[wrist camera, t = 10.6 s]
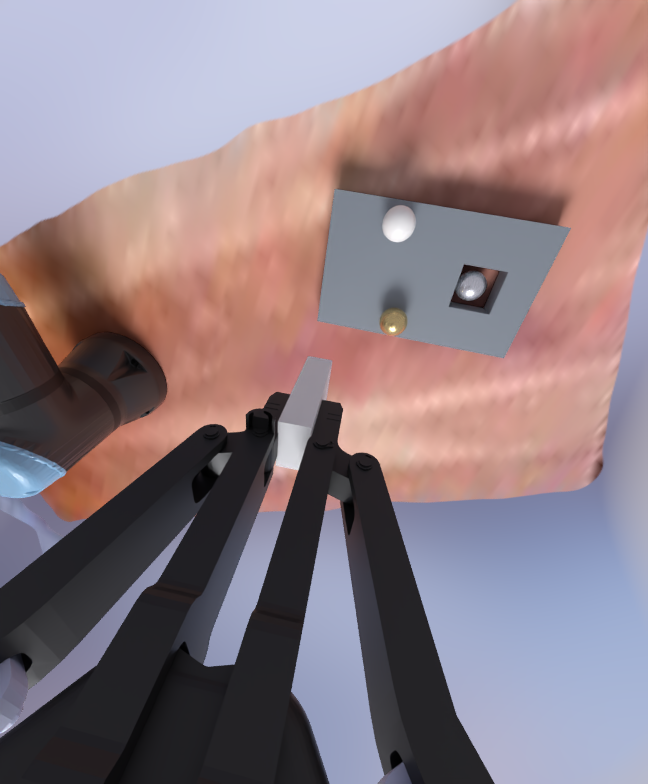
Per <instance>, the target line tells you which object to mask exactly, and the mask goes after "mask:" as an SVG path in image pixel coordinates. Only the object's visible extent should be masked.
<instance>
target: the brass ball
mask: <svg viewBox="0 0 648 784" xmlns="http://www.w3.org/2000/svg"><path fill="white" fill-rule="evenodd" d="M407 324H408V318H407V315H406V313H405V312H404V311H403V310H401V309H399V308H395V307H393V308H389V309H387V310H385V311H384V312H383V313H382V315H381V316H380V320H379V325H380V328H381V330H382V331H383V332H384V333H385V334H387V335H389V336H396V335H399V334H401V333H402V332H403V331H404V330H405V329H406V327H407Z"/></svg>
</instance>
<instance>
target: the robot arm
mask: <svg viewBox="0 0 648 784" xmlns="http://www.w3.org/2000/svg"><path fill="white" fill-rule="evenodd" d="M24 307H26V306H25V304H24V303H23V302H20V300H19V299H18V297H17V296H16V294H15V293H14V291H13V290H12V288H11V287H10V285H9V283H8V282H7V280H6V279H5V277H4V276H3V275H2V274H1V273H0V496H4V497H10V498H24V497H30V496H33V495H35V494H38V493H39V492H41V491H42V490H44V489H45V488H46V487H48V486H49V485H51V484H52V483H53V482H55V481H56V480H57V479H59V478H60V477H63V476H64V475H65V474H66V472H67V471H68V470H69V469H70V468H71V467H73V466H74V465H75V464H76V463H77V462H78V461H80V460H81V459H82V458H83V457H84V456H85V455H87V454H88V453H89V452H90V451H91V450H92V449H94V448H95V447H96V446H97V445H98V444H99V443H101V442H102V441H103V440H104V439H105V438H106V437H108V436H109V435H110V434H111V433H112V432H113V431H114V430H116V429H117V428H118V427H119V426H122V425H124V424H127V423H129V422H132V421H134V420H137V419H139V418H141V417H144V416H147V415H149V414H151V413H152V412H153V411H155V410H156V409H157V408H158V407H159V406H160V405H161V404H162V403H163V401H164V400H165V397H166V393H167V385H166V380H165V377H164V374H163V372H162V370H161V368H160V367H159V365H158V364H157V362H156V361H155V359H154V358H153V357H152V356H151V355H150V354H149V353H148V352H147V351H146V350H145V349H144V348H143V347H141V346H140V345H139V344H137V343H136V342H134V341H132V340H131V339H129V338H126V337H124V336H122V335H119V334H115V333H108V332H103V333H97V334H94V335H92V336H90V337H88V338H86V339H84V340H82V341H80V342H79V343H78V344H77V345H76V346H75V347H74V349H73V350H72V352H71V353H70V354H69V355H68V356H67V357H66V358H65V359H64V360H63V361H62V362H61V363H60V364H59V365H58V366H57V364H56V362H55V361H54V359H53V357H52V355H51V354H50V352H49V350H48V349H47V347H46V345H45V343H44V342H43V340H42V338H41V336H40V334H39V333H38V331H37V329H36V327H35V326H34V324H33V322H32V320H31V318H30V317H29V315H28V313H27V311H26V309H25V308H24ZM331 366H332V360H327V359H321V358H316V357H310V356H308V358H307V360H306V362H305V364H304V366H303V369H302V371H301V373H300V375H299V377H298V379H297V381H296V384H295V386H294V388H293V390H292V392H291V394H285V393H280V392H276V393H274V394H273V395H271V396H270V397H269V399H268V401H267V403H266V404H265V406H264V408H263V409H260V408H259V409H253V410H251V411H249V412H248V413H247V414H246V430H245V431H243V432H234V433H227V430H226V428H225V427H223V426H221V425H217V424H210V425H206V426H203V427H202V428H200V429H198V430H197V431H196V432H195V433H193V434H192V435H191V436H190V437H189V438H187V439H186V440H185V441H184V442H182V443H181V444H180V445H179V446H177V447H176V448H175V449H174V450H172V451H171V452H170V453H169V454H167V455H166V456H165V457H164V458H162V459H161V460H160V461H159V462H157V463H156V464H155V465H154V466H152V467H151V468H150V469H149V470H147V471H146V472H145V473H144V474H142V475H141V476H140V477H139V478H137V479H136V480H135V481H134V482H132V483H131V484H130V485H129V486H127V487H126V488H125V489H124V490H122V491H121V492H120V493H119V494H117V495H116V496H115V497H114V498H112V499H111V500H110V501H109V502H107V503H106V504H105V505H104V506H102V507H101V508H100V509H99V510H97V511H96V512H95V513H94V514H92V515H91V516H90V517H89V518H87V519H86V520H85V521H84V522H82V523H81V524H80V525H79V526H78V527H76V528H75V529H74V530H73V531H71V532H70V533H69V534H68V535H66V536H65V537H64V538H63V539H61V540H60V541H59V542H58V543H56V544H55V545H54V546H53V547H51V548H50V549H49V550H48V551H46V552H45V553H44V554H43V555H41V556H40V557H39V558H38V559H37V560H35V561H34V562H33V563H31V564H30V565H29V566H28V567H26V568H25V569H24V570H23V571H22V572H20V573H19V574H18V575H16V576H15V577H14V578H13V579H11V580H10V581H9V582H8V583H6V584H5V585H4V586H3V587H2V588H0V733H2V732H5V731H6V730H7V729H9V728H10V727H11V726H12V725H13V724H14V723H15V722H16V720H17V719H18V718H19V717H20V714H21V712H22V710H23V703H24V701H25V699H26V696H27V692H28V690H29V689H30V688H31V687H33V686H34V685H35V684H37V683H38V682H39V681H40V680H41V679H42V678H44V677H45V676H46V675H47V674H48V673H49V672H50V671H51V670H52V669H54V668H55V667H56V666H57V665H58V664H59V663H60V662H61V661H62V660H63V659H64V658H65V657H66V656H67V655H68V654H69V653H70V652H71V651H72V650H73V649H74V648H75V647H76V646H77V645H78V644H79V643H80V642H81V641H82V640H83V638H84V637H85V636H86V635H87V634H88V633H89V632H90V631H91V630H92V628H93V627H94V626H95V625H96V624H97V623H98V622H99V621H100V620H101V618H102V617H103V616H104V615H105V614H106V613H107V612H108V611H109V609H111V608H112V606H113V605H114V604H115V603H116V602H117V601H118V600H119V599H120V598H121V597H122V595H123V594H124V593H125V592H126V591H127V590H128V589H129V587H131V586H132V584H133V583H134V582H135V581H136V580H137V579H138V578H139V577H140V576H141V575H142V573H143V572H144V571H145V570H146V569H147V568H148V567H149V566H150V565H151V563H152V562H153V561H154V560H155V559H156V558H157V557H158V556H159V555H160V554H161V552H162V551H163V550H164V549H165V548H166V547H167V546H168V545H169V544H170V543H171V541H172V540H173V539H174V538H175V537H176V536H177V535H178V534H179V533H180V531H181V530H182V529H183V528H184V527H185V526H186V525H187V524H188V523H189V521H191V519H192V518H193V517H194V516H195V515H196V514H197V515H196V516H195V518H194V520H193V522H192V523H191V525H190V527H189V529H188V530H187V532H186V534H185V535H184V537H183V539H182V541H181V542H180V544H179V546H178V548H177V549H176V551H175V553H174V554H173V556H172V558H171V560H170V561H169V563H168V565H167V566H166V568H165V570H164V572H163V573H162V575H161V577H160V578H159V580H158V582H157V583H156V584H154V585H153V586H150V587H147V588H146V589H145V590H144V591H143V592H142V593H141V595H140V596H139V598H138V599H137V600H136V602H135V604H134V605H133V607H132V609H131V610H130V612H129V614H128V615H127V617H126V619H125V620H124V622H123V623H122V625H121V627H120V629H119V630H118V632H117V634H116V635H115V637H114V638H113V640H112V642H111V644H110V645H109V647H108V648H107V650H106V652H105V653H104V655H103V657H102V658H101V660H100V661H99V663H98V665H97V666H95V667H94V668H93V669H91V670H90V671H88V672H87V673H86V674H84V675H83V676H82V677H81V678H79V679H78V680H77V681H75V682H74V683H73V684H71V685H70V686H69V687H67V688H66V689H65V690H63V691H62V692H61V693H59V694H58V695H57V696H55V697H54V698H53V699H52V700H50V701H49V702H47V703H46V704H45V705H43V706H42V707H41V708H40V709H38V710H37V711H36V712H34V713H33V714H32V715H30V716H29V717H28V718H26V719H25V720H24V721H22V722H21V723H20V724H18V725H17V726H16V727H14V728H13V729H12V730H10V731H9V732H8V733H6V734H5V735H4V736H2V737H1V738H0V784H329V781H328V778H327V775H326V772H325V768H324V765H323V762H322V759H321V756H320V753H319V750H318V747H317V744H316V740H315V737H314V734H313V731H312V728H311V725H310V722H309V720H308V718H307V716H306V713H305V711H304V710H303V708H302V706H301V704H300V703H299V701H298V700H297V698H296V697H295V696H294V695H293V694H292V692H291V688H292V682H293V678H294V672H295V667H296V661H297V656H298V651H299V645H300V640H301V634H302V628H303V624H304V618H305V613H306V606H307V601H308V596H309V591H310V586H311V580H312V574H313V570H314V564H315V558H316V553H317V548H318V542H319V537H320V531H321V526H322V521H323V515H324V510H325V505H326V500H327V494H329V495H331V496H333V497H335V498H337V499H338V500H340V504H341V511H342V518H343V525H344V532H345V539H346V546H347V553H348V560H349V567H350V574H351V581H352V587H353V595H354V602H355V608H356V616H357V622H358V629H359V636H360V643H361V650H362V657H363V664H364V671H365V678H366V685H367V692H368V699H369V706H370V712H371V719H372V724H373V729H374V735H375V740H376V745H377V749H378V753H379V757H380V760H381V764H382V768H383V771H384V775H385V776H384V777H383V778H382V779H381V780H380V781H379V782H378V784H494V782H493V780H492V778H491V776H490V775H489V773H488V771H487V769H486V767H485V766H484V764H483V762H482V760H481V759H480V757H479V755H478V753H477V751H476V749H475V748H474V746H473V744H472V743H471V741H470V739H469V737H468V735H467V733H466V731H465V730H464V728H463V726H462V724H461V723H460V721H459V719H458V717H457V715H456V712H455V709H454V706H453V702H452V699H451V696H450V693H449V689H448V686H447V683H446V679H445V676H444V673H443V670H442V666H441V663H440V660H439V656H438V653H437V650H436V647H435V644H434V640H433V637H432V634H431V630H430V627H429V624H428V621H427V617H426V614H425V611H424V608H423V604H422V601H421V598H420V594H419V591H418V588H417V585H416V581H415V578H414V575H413V572H412V568H411V565H410V562H409V558H408V555H407V552H406V549H405V545H404V542H403V539H402V535H401V532H400V529H399V526H398V522H397V519H396V516H395V512H394V509H393V506H392V503H391V499H390V496H389V493H388V489H387V486H386V483H385V480H384V476H383V473H382V470H381V467H380V464H379V462H378V460H377V459H376V458H375V457H374V456H372V455H370V454H368V453H356V454H354V455H352V456H351V455H349V454H347V453H345V452H344V451H343V450H342V449H341V448H340V447H339V445H338V434H339V429H340V423H341V418H342V412H343V408H342V406H341V404H340V403H336V402H331V401H326V399H327V393H328V386H329V380H330V373H331ZM275 461H276V466H280V467H285V468H290V469H295V470H298V473H297V476H296V480H295V483H294V486H293V489H292V493H291V496H290V499H289V502H288V506H287V509H286V512H285V516H284V519H283V522H282V525H281V528H280V531H279V535H278V538H277V541H276V544H275V548H274V551H273V554H272V558H271V561H270V564H269V567H268V570H267V574H266V577H265V580H264V583H263V586H262V590H261V593H260V596H259V600H258V603H257V605H256V608H255V609H254V611H253V612H252V614H251V617H250V619H249V622H248V625H247V628H246V631H245V634H244V637H243V640H242V644H241V647H240V650H239V653H238V656H237V659H236V662H235V665H224V666H213V667H207V666H204V665H203V663H204V660H205V657H206V654H207V650H208V645H209V640H210V636H211V632H212V629H213V627H214V624H215V622H216V619H217V617H218V614H219V611H220V609H221V606H222V603H223V601H224V598H225V596H226V593H227V590H228V588H229V586H230V583H231V580H232V578H233V575H234V573H235V570H236V568H237V565H238V562H239V560H240V557H241V555H242V552H243V550H244V547H245V545H246V542H247V539H248V537H249V534H250V532H251V529H252V526H253V524H254V521H255V519H256V516H257V514H258V511H259V509H260V506H261V503H262V501H263V498H264V496H265V493H266V491H267V488H268V485H269V483H270V480H271V478H272V475H273V466H274V463H275Z"/></svg>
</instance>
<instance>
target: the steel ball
mask: <svg viewBox="0 0 648 784" xmlns="http://www.w3.org/2000/svg"><path fill="white" fill-rule="evenodd" d="M486 287H487V280H486V277H485V276H484V275H483V274H482V273H481V272H479V271H475V270H471V271H467V272H465V273H463V274H462V275H461V276H460V277H459V279H458V282H457V285H456V287H455V291H456V294H457V295H458V297H459V298H461V299H463V300H466V301H472V300H475V299H477V298H479V297H480V296H481V295H482V294H483V293H484V292H485V290H486Z"/></svg>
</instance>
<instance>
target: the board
mask: <svg viewBox="0 0 648 784" xmlns="http://www.w3.org/2000/svg"><path fill="white" fill-rule="evenodd" d="M398 205H404V206H407V207H409V208H410V209H411V210H412V211H413V213H414V215H415V218H416V225H415V229H414V231H413V233H412V234H411V236H410V237H409V238H408V239H406V240H404V241H402V242H393V241H390V240H389V239H388V238H387V237H386V236H385V235H384V232H383V229H382V223H383V219H384V216H385V215H386V213H387V212H388V211H389V210H390V209H391V208H393V207H395V206H398ZM570 229H571V228H568V227H562V226H556V225H550V224H544V223H538V222H532V221H526V220H520V219H514V218H508V217H502V216H496V215H490V214H484V213H478V212H472V211H466V210H460V209H454V208H448V207H442V206H436V205H430V204H424V203H418V202H412V201H406V200H400V199H394V198H388V197H382V196H376V195H370V194H364V193H358V192H352V191H346V190H340V189H335V191H334V199H333V206H332V214H331V221H330V229H329V237H328V244H327V252H326V259H325V267H324V275H323V282H322V290H321V297H320V305H319V313H318V320H317V321H320V322H325V323H330V324H335V325H340V326H345V327H350V328H355V329H360V330H365V331H370V332H375V333H380V334H385V333H384V332H383V331H382V330H381V328H380V325H379V320H380V316H381V315H382V313H383V312H384V311H385V310H387V309H389V308H393V307H395V308H399V309H401V310H403V311H404V312H405V313H406V315H407V318H408V324H407V327H406V329H405V330H404V331H403V332H402V333H401V334H399V335H396V336H395V337H400V338H405V339H410V340H415V341H420V342H425V343H430V344H435V345H440V346H445V347H450V348H455V349H460V350H465V351H470V352H475V353H480V354H485V355H490V356H495V357H500V358H504V357H505V355H506V353H507V351H508V349H509V347H510V345H511V343H512V341H513V339H514V338H515V336H516V334H517V332H518V330H519V328H520V326H521V324H522V322H523V320H524V318H525V316H526V314H527V312H528V310H529V309H530V307H531V305H532V303H533V301H534V299H535V297H536V295H537V293H538V291H539V289H540V287H541V285H542V283H543V281H544V279H545V278H546V276H547V274H548V272H549V270H550V268H551V266H552V264H553V262H554V260H555V258H556V256H557V254H558V252H559V250H560V249H561V247H562V245H563V243H564V241H565V239H566V237H567V235H568V233H569V231H570ZM464 264H465V265H471V266H477V267H482V268H488V269H493V270H499V271H500V272H499V274H498V276H497V279H496V281H495V283H494V286H493V288H492V290H491V293H490V295H489V297H488V299H487V302H486V304H485V306H484V308H481V307H476V306H471V305H465V304H460V303H455V302H450V301H451V298H452V296H453V293H454V290H455V287H456V285H457V282H458V279H459V277H460V274H461V271H462V268H463V266H464ZM385 335H387V334H385Z"/></svg>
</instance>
